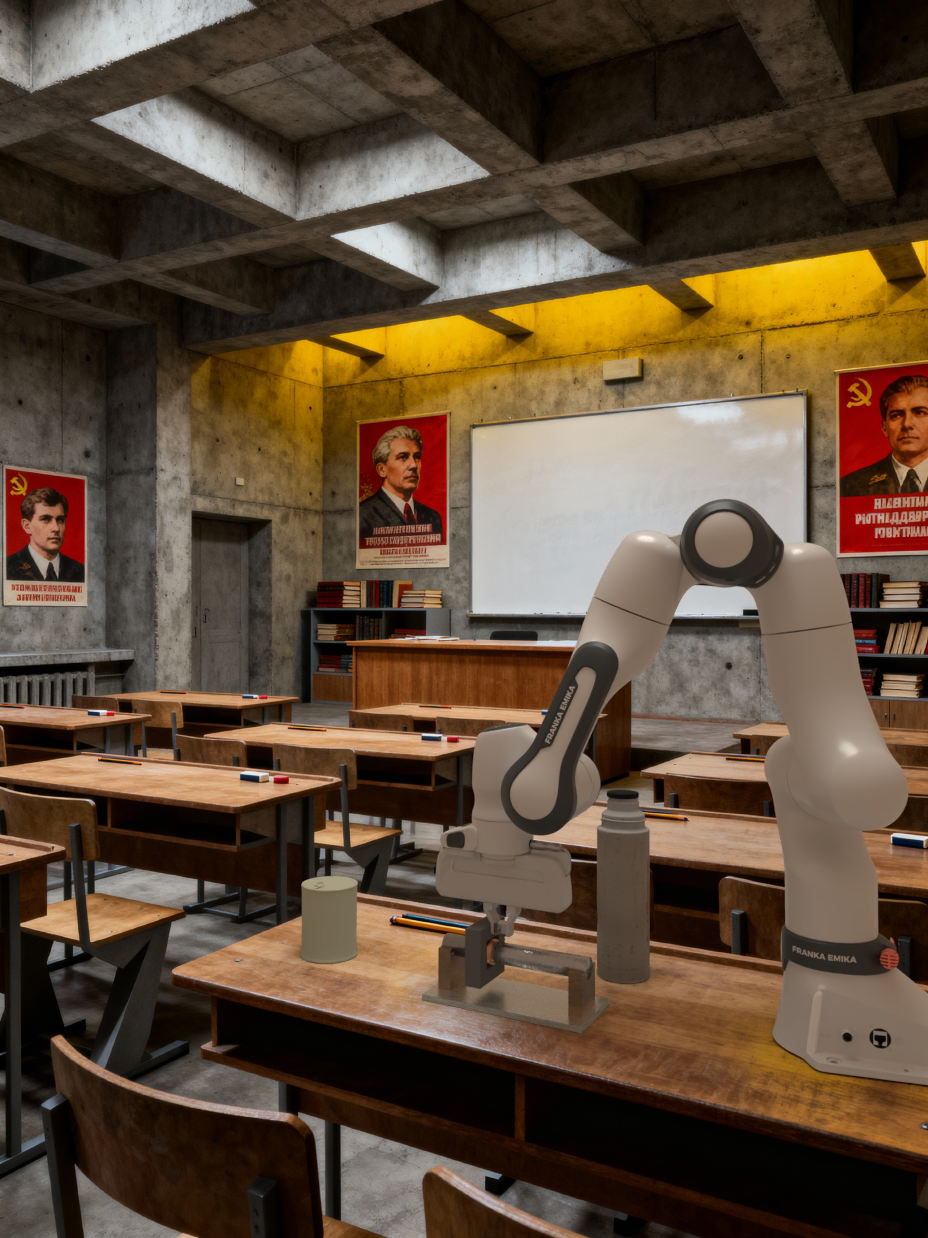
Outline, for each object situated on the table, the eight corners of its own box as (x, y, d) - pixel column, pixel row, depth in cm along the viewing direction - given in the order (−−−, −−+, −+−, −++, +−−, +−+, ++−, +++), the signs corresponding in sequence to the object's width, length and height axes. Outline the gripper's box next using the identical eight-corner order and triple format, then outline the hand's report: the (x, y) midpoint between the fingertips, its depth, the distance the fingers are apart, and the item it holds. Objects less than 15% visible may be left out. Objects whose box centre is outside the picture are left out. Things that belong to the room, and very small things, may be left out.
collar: (504, 971, 135) (504, 916, 135) (480, 989, 128) (480, 931, 128) (489, 968, 136) (490, 914, 137) (464, 986, 129) (465, 928, 129)
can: (288, 957, 148) (289, 882, 149) (325, 941, 156) (326, 870, 156) (332, 968, 143) (333, 890, 144) (369, 951, 151) (369, 878, 152)
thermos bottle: (649, 967, 144) (649, 787, 145) (649, 986, 136) (649, 795, 137) (598, 963, 146) (598, 786, 147) (595, 981, 138) (595, 793, 139)
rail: (609, 1004, 129) (609, 945, 129) (581, 1033, 119) (581, 969, 120) (458, 975, 140) (458, 920, 141) (421, 999, 131) (422, 941, 131)
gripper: (579, 840, 129) (578, 939, 129) (451, 826, 139) (450, 919, 139) (562, 849, 124) (562, 953, 123) (430, 834, 133) (429, 930, 133)
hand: (502, 935), depth 131 cm, fingers closed
